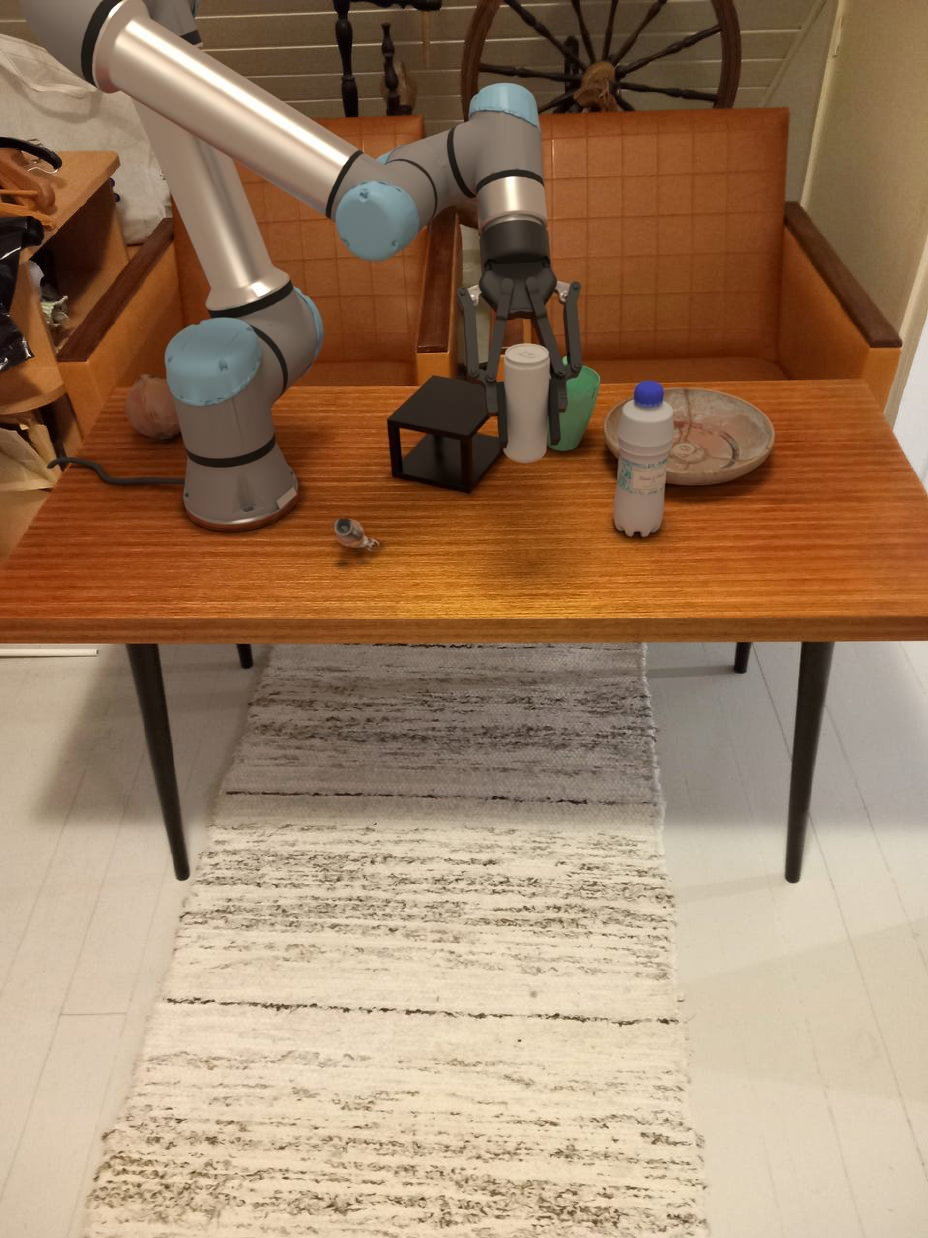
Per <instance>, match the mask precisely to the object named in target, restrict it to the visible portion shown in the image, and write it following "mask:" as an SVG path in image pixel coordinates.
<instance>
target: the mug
mask: <svg viewBox="0 0 928 1238" xmlns="http://www.w3.org/2000/svg"><path fill="white" fill-rule="evenodd" d="M562 360H563V363H564V366H566V365H567V356H566V355H565V356H563V357H562ZM549 379H551V376H550V373H549ZM566 385H567V397H568V406H567V409H566V411H565V413H559V420H560V432H561V440H560V442H559V443H558V445H554V446H551V443H550V431H549V418H548V425H547V447H548V448H550V449H552V450H555V451H561V452H562V451H571V450H574V449H576V448H577V447H578V446H579V445H580V442H581V440H582V439H583V437H584V436H585V435H584V434H585V433H586V430H587V428H588V426H589V423H590V421H591V418H592V415H593V413H594V409H595V406H596V403H597V399H598V395H599V392H600V388H601V377H600V375H599V373H598V372H596V370H594V369H592V368H590V367H589V366H587V365H586V366H585V365H582V369H581V371H580V373H579V375H578V377H577V378H572V379H569V380H568V381H566Z"/></svg>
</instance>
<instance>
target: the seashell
mask: <svg viewBox="0 0 928 1238" xmlns="http://www.w3.org/2000/svg"><path fill="white" fill-rule="evenodd" d="M324 522H326V523H327V521H324ZM333 527H334V532H335V534H336V539H337V541H338V542H339V543H340V544H341V545H342V546H344V547H346V548H366V549H367V550H368V551H371V548H372V546H376V545H377V546H378V547H380V542H379V541H377V540H376V539H374V538H372V537H368V536H366V535H365V531H364V527H363V525H362V524H361V523H360V522H359V521H357V520H355V519H350V518H348V517H347V518H346V517H340V518H338V519H336V521H335V522H334V523H333ZM368 538H369V539H368Z"/></svg>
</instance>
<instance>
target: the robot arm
mask: <svg viewBox="0 0 928 1238" xmlns="http://www.w3.org/2000/svg"><path fill="white" fill-rule="evenodd" d="M200 1H201V0H19V4H20V7H21V11H22V15H23V17H24V20H25V21H26V23H27V25H28V28H29V29H30V31H31V33H32V34H33V36H34V38H36V40H37V41H38V42H39V44H40V46H42V47H43V48H44V50H45V51H46V52H47V53H48V54H49V55H50V56H51V57H52V58H53V59H55V60H56V61H57V62H58V63H59V64H61V65H62V66H63V67H65V68H66V69H67V70H68V71H69V72H71V74H73V75H75V76H77V77H78V78H79V79H81V80H82V81H84V82H86V83H88V84H90V85H91V86H93V87H94V88H96V89H97V90H99V91H101V92H102V93H105V94H109V95H111V94H115V93H117V92H122V93H124V94H125V95H127V96H128V97H130V99H131V102H132V104H133V106H134V109H135V111H136V113H137V115H138V118H139V121H140V123H141V125H142V128H143V130H144V132H145V135H146V137H147V140H148V142H149V145H150V146H151V149H152V152H153V154H154V156H155V159H156V161H157V163H158V166H159V168H160V171H161V173H162V175H163V177H164V180H165V182H166V185H167V187H168V190H169V192H170V194H171V196H172V198H173V201H174V204H175V206H176V209H177V211H178V213H179V216H180V218H181V220H182V224H183V225H184V228H185V230H186V233H187V235H188V237H189V239H190V242H191V245H192V247H193V249H194V251H195V254H196V256H197V259H198V260H199V263H200V265H201V268H202V270H203V272H204V275H205V278H206V280H207V282H208V284H209V287H210V291H209V293H208V296H207V298H206V300H205V308H206V310H207V312H208V315H209V317H210V318H209V319H204V320H200V323H199V324H193V323H192V324H190V325H188V326H186V327H185V328H183V329H182V330H179V332H177V333H176V334H175V335H174V336H173V337H172V338H171V340H169V342H168V344H167V346H166V348H165V352H164V365H165V372H166V374H165V375H166V380H167V384H168V386H169V389H170V391H171V394H172V398H173V402H174V406H175V410H176V414H177V418H178V422H179V426H180V430H181V432H180V433H181V437H182V441H183V445H184V449H185V453H186V458H187V460H186V468H185V476H184V478H180V477H179V478H177V477H151V476H150V477H148V476H147V477H143V476H142V477H123V478H121V477H115V476H110V475H107V473H106V472H105V471H104V468H103V467H102V466H101V465H100V464H99V463H97V462H95V461H92V460H89V459H84V458H79V457H75V456H74V457H73V456H63V457H57V458H55V459H52V460H51V461H50V462H49V463H48V464H47V466H46V469H48V470H52V469H54V468H55V467H56V466H58V465H60V464H76V465H81V466H85V467H88V468H93V469H94V470H95V471H96V472H97V474H98V475H99V477H100V478H101V479H102V480H103V481H105V482H107V483H109V484H115V485H136V484H158V485H162V484H163V485H182V486H183V485H184V486H183V494H182V500H183V503H184V508H185V512H186V514H187V517H188V518H189V519H190V520H191V521H192V522H193V523H195V524H196V525H197V526H200V527H202V528H204V529H208V530H211V531H216V532H217V531H218V532H229V533H230V532H244V531H250V530H255V529H259V528H262V527H265V526H268V525H270V524H273V523H274V522H277V521H278V520H280V519H282V518H283V517H285V516H287V514H289V513H290V512H291V511H292V510H293V509H294V508H295V507H296V505H297V503H298V500H299V498H300V489H299V484H298V478H297V476H296V474H295V472H294V471H293V469H292V468H291V467H290V466H289V465H288V462H287V460H286V458H285V455H284V453H283V452H282V449H281V448H280V445H279V444H278V442H277V437H276V432H275V425H274V421H273V414H272V408H273V407H272V406H273V405H274V404H275V403H276V402H277V401H278V400H279V399H280V398H281V397H282V396H283V395H284V394H285V393H286V392H287V391H288V390H289V389H290V388H291V387H292V386H293V385H294V384H295V383H296V382H297V381H298V380H299V379H300V378H301V377H302V378H303V376H304V375H305V374H306V373H307V372H308V371H309V370H310V369H311V367H312V366H313V364H314V362H315V360H316V359H317V358H318V356H319V354H320V352H321V350H322V347H323V343H324V334H325V333H324V325H323V324H324V323H323V319H322V317H321V314H320V311H319V309H318V308H317V306H316V304H315V303H314V301H313V300H312V298H311V297H310V296H309V295H305V294H303V292H302V289H300V288H298V287H296V286H294V285H293V282H292V280H291V277H290V275H289V273H287V272H285V271H284V270H282V269H279V268H278V267H276V266H275V265H274V264H273V262H272V260H271V257H270V254H269V252H268V249H267V247H266V244H265V241H264V238H263V235H262V233H261V230H260V228H259V225H258V223H257V220H256V217H255V215H254V212H253V210H252V207H251V205H250V202H249V201H250V200H249V199H248V196H247V193H246V190H245V188H244V185H243V183H242V180H241V177H240V174H239V173H238V170H237V168H236V167H237V166H236V164H235V162H236V163H238V164H239V165H241V166H243V167H244V168H246V169H248V170H249V171H251V172H253V173H254V174H256V175H257V176H259V177H261V178H262V179H264V180H266V181H267V182H269V183H271V184H272V185H274V186H275V187H277V188H279V189H280V190H282V191H284V192H285V193H287V194H288V195H290V196H291V197H294V198H295V199H297V200H299V201H300V202H302V203H303V204H304V205H307V206H308V207H310V208H311V209H313V210H315V211H316V212H318V213H320V214H321V215H323V216H324V217H326V218H328V219H329V220H330V221H332V222H334V223H335V227H336V232H337V235H338V237H339V239H340V240H341V241H342V243H343V244H344V246H345V247H346V249H347V251H349V253H350V254H351V255H353V256H355V257H357V258H358V259H361V260H363V261H367V262H373V263H377V262H384V261H386V260H389V259H391V258H393V257H394V256H395V255H397V254H398V253H400V252H402V251H404V249H406V248H408V247H409V246H410V244H412V242H413V241H414V240H415V239H416V237H417V235H418V234H420V232H422V230H423V229H424V228H425V227H427V225H429V224H430V223H431V222H432V221H433V220H434V219H435V218H436V217H437V216H438V215H439V214H441V212H442V211H443V210H444V209H447V208H448V207H452V206H455V205H457V204H460V203H463V202H465V201H468V200H470V199H476V210H477V211H476V213H477V226H478V227H477V228H478V233H479V235H480V237H479V240H478V241H479V254H480V255H479V256H480V267H481V268H480V269H481V275H480V278H479V280H478V284H476V285H473V286H470V287H469V288H467V287H465V286H460V287H458V288H457V291H456V301H455V303H456V306H457V308H458V310H459V312H460V313H461V317H462V323H463V338H464V339H463V340H464V353H465V354H464V355H465V369H466V370H465V371H466V381H468V382H469V383H470V384H479V385H481V386H483V388H484V389H485V399H486V412H487V414H488V417H490V418H492V417H493V418H495V417H496V421H497V422H496V423H497V435H498V436H497V437H499V449H504V448H507V445H508V430H507V417H506V403H505V390H504V380H502V381H497V378H498V372H499V371H498V370H499V366H500V360H501V355H502V349H503V345H504V344H503V343H504V339H505V333H506V327H507V321H513V320H516V319H523V320H529V321H530V323H531V326H532V328H533V329H534V332H535V335H536V338H537V340H538V342H539V345H540V346H542V347H544V348H546V349H547V350H548V352H549V358H550V371H549V373H550V376H551V379H549V399H548V418H549V431H550V443H551V446H554V445H558V443H559V442H560V440H561V432H560V420H559V413H565V411H566V409H567V406H568V397H567V385H566V381H568V380H569V379H572V378H577V377H578V375H579V373H580V371H581V369H582V366H583V355H582V345H581V343H582V342H581V334H580V333H581V331H580V321H579V312H578V311H579V310H578V301H579V297H580V293H581V289H582V285H581V282H579V281H577V280H576V281H575V280H573V281H572V282H571V283H568V282H565V281H561V280H558V278H557V276H556V274H555V272H554V271H553V268H552V260H551V250H550V249H551V248H550V247H551V246H550V235H549V231H548V229H547V228H548V225H549V223H548V222H549V220H548V211H547V199H546V189H545V180H544V179H545V178H544V164H543V162H544V161H543V149H542V148H543V147H542V146H543V145H542V137H543V134H542V129H541V125H540V120H539V119H540V118H539V113H538V105H537V101H536V99H535V96H534V95H533V93H531V92H530V91H529V89H527V88H526V87H524V86H522V85H520V84H518V83H517V84H516V83H511V82H499V83H494V84H490V85H487V86H484V87H483V88H481V89H480V90H479V92H478V93H477V94H475V95H474V96H473V97H472V99H471V100H470V102H469V109H468V110H469V111H468V115H467V116H468V121H465V122H462V123H460V124H457V125H456V126H454V127H452V128H451V129H448V130H445V131H441V132H439V133H436V134H434V135H431V136H427V137H425V138H423V139H422V138H421V139H419V140H416V141H414V142H411V143H409V144H406V145H405V144H402V145H398V146H396V147H395V148H394V149H392V150H390V151H388V152H386V153H384V154H382V155H380V156H378V157H377V158H374V157H372V156H370V155H369V154H367V153H365V152H364V151H362V150H361V149H359V148H358V147H356V146H355V145H353V144H351V143H349V142H348V141H346V140H345V139H343V138H342V137H340V136H338V135H337V134H335V133H334V132H332V131H331V130H329V129H327V128H326V127H324V125H323V126H322V125H321V124H319V123H318V122H316V121H315V120H313V119H312V118H310V117H309V116H307V115H305V114H304V113H302V112H300V111H299V110H297V109H296V108H294V107H292V106H291V105H289V104H288V103H286V102H285V101H282V100H281V99H280V98H278V97H276V96H275V95H273V94H272V93H270V92H268V91H267V90H265V89H264V88H262V87H260V86H259V85H257V84H256V83H254V82H252V81H251V80H249V79H248V78H246V77H245V76H243V75H241V74H240V73H238V72H237V71H235V70H233V69H232V68H230V67H228V66H227V65H225V64H224V63H222V62H221V61H219V60H218V59H216V58H214V57H213V56H211V55H210V54H208V53H206V52H204V50H202V49H203V46H204V44H203V40H202V38H201V35H200V33H199V30H198V27H197V24H196V22H195V19H196V17H197V14H198V12H199V9H198V8H199V3H200ZM234 161H235V162H234ZM553 294H556V295H557V300H558V303H559V304H560V305H562V306H563V309H562V321H563V331H564V332H563V333H564V343H565V344H564V345H565V356H567V365H566V366H564V363H563V360H562V359H563V357H562V355H561V352H560V349H559V346H558V343H557V341H556V337H555V335H554V331H553V328H552V326H551V322H550V320H549V316H548V310H547V303H548V302H549V300H550V299H551V297H552V295H553ZM480 298H482V300H484V301H485V302H486V304H487V305H488V306H489V307H490V308H491V309H492V311H493V312H494V313H495V314H496V315H495V320H494V325H493V331H492V337H491V342H490V348H489V353H488V358H487V363H486V370H485V369H482V368H480V360H479V344H478V330H477V316H476V309H477V308H478V307H479V301H480V300H479V299H480Z"/></svg>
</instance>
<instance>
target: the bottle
mask: <svg viewBox="0 0 928 1238" xmlns="http://www.w3.org/2000/svg"><path fill="white" fill-rule="evenodd" d="M663 388H664V386H663V385H662V384H661V383H660V382H657V381H654V380H643V381H640V382H639V383H637V384H636V385H635V387H634V391H633V395H634V400H631V401H629V402H627V403H626V404H625V405H624V407H623V409H622V414H621V418H620V423H619V427H618V430H617V434H618V439H617V443H618V446H619V448H620V449H619V460H618V459H617V460H618V462H617V473H616V474H617V476H616V487H615V492H614V498H613V507H612V517H613V523H614V526H615V528H616V529H617V530H618V531H619V532H623V531H624V532H625V535H626V536H628V537H633V536H634V533H636V532H639V533H640V536H641V537H642V538H645V537H648V536H649V534H650V533H656V532H657V531H658V530H659V529H660V527H661V525H662V522H663V518H664V511H665V510H664V509H665V489H666V483H665V481H666V472H667V464H668V455H669V450H670V449H671V447H672V445H673V441H672V440H673V438H674V417H673V409H672V407H671V406H670V405H669V404H668V403H666V402H664V401H663V396H664V390H663Z"/></svg>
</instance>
